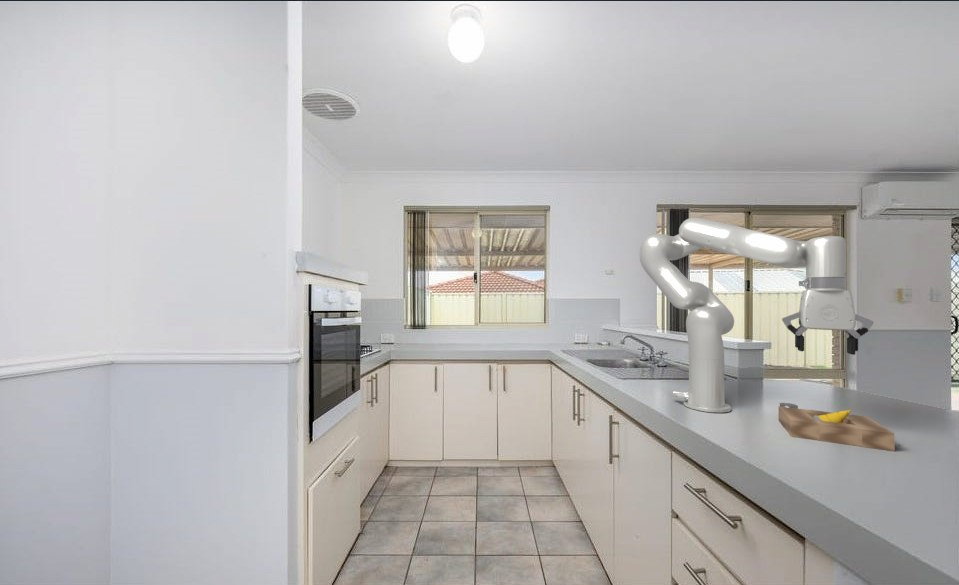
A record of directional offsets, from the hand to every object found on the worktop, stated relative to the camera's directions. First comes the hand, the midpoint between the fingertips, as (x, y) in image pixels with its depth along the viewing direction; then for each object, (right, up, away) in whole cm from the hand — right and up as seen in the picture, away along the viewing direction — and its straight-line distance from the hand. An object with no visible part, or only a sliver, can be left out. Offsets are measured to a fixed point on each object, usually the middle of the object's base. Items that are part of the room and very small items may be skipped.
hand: (825, 352), depth 95 cm
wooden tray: (0, -20, -1) cm, 20 cm away
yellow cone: (0, -21, -1) cm, 21 cm away
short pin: (0, -21, +11) cm, 24 cm away
